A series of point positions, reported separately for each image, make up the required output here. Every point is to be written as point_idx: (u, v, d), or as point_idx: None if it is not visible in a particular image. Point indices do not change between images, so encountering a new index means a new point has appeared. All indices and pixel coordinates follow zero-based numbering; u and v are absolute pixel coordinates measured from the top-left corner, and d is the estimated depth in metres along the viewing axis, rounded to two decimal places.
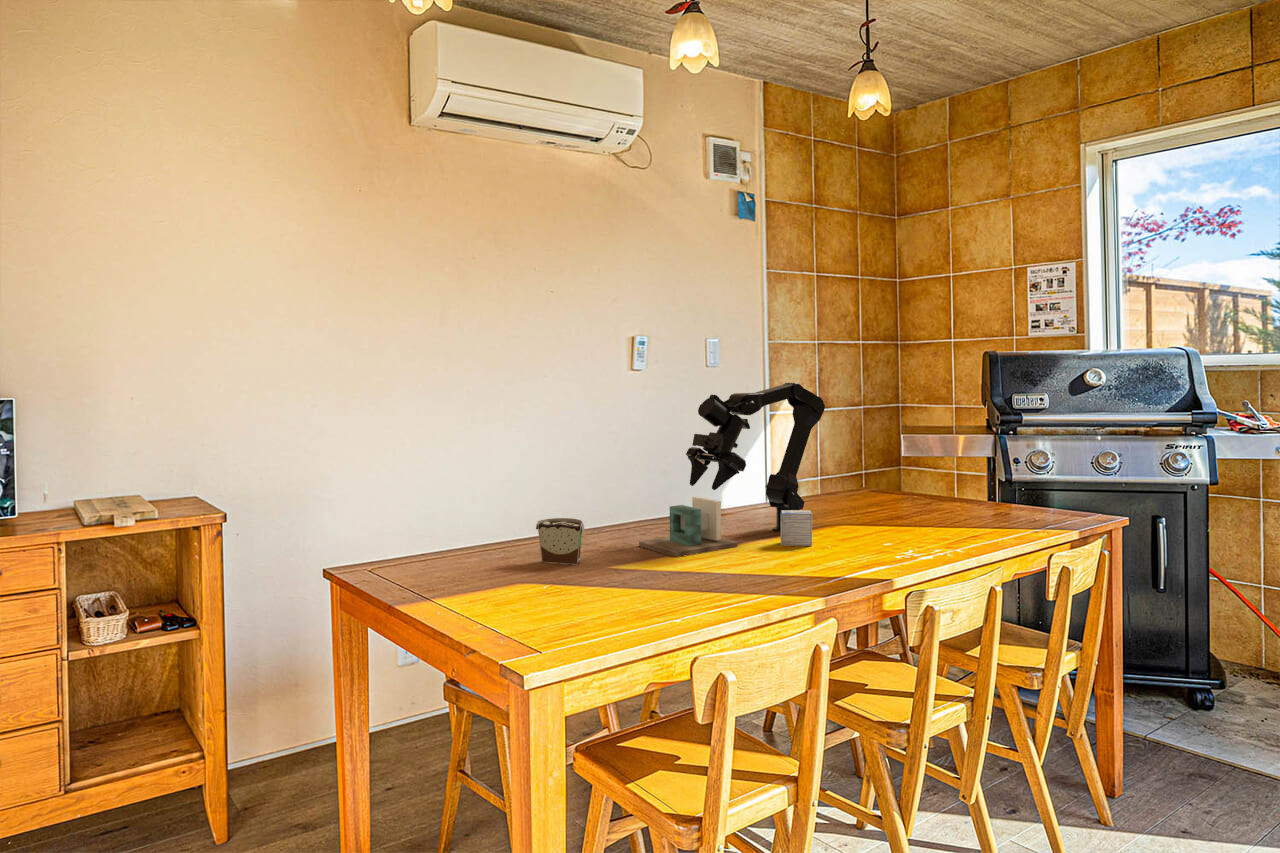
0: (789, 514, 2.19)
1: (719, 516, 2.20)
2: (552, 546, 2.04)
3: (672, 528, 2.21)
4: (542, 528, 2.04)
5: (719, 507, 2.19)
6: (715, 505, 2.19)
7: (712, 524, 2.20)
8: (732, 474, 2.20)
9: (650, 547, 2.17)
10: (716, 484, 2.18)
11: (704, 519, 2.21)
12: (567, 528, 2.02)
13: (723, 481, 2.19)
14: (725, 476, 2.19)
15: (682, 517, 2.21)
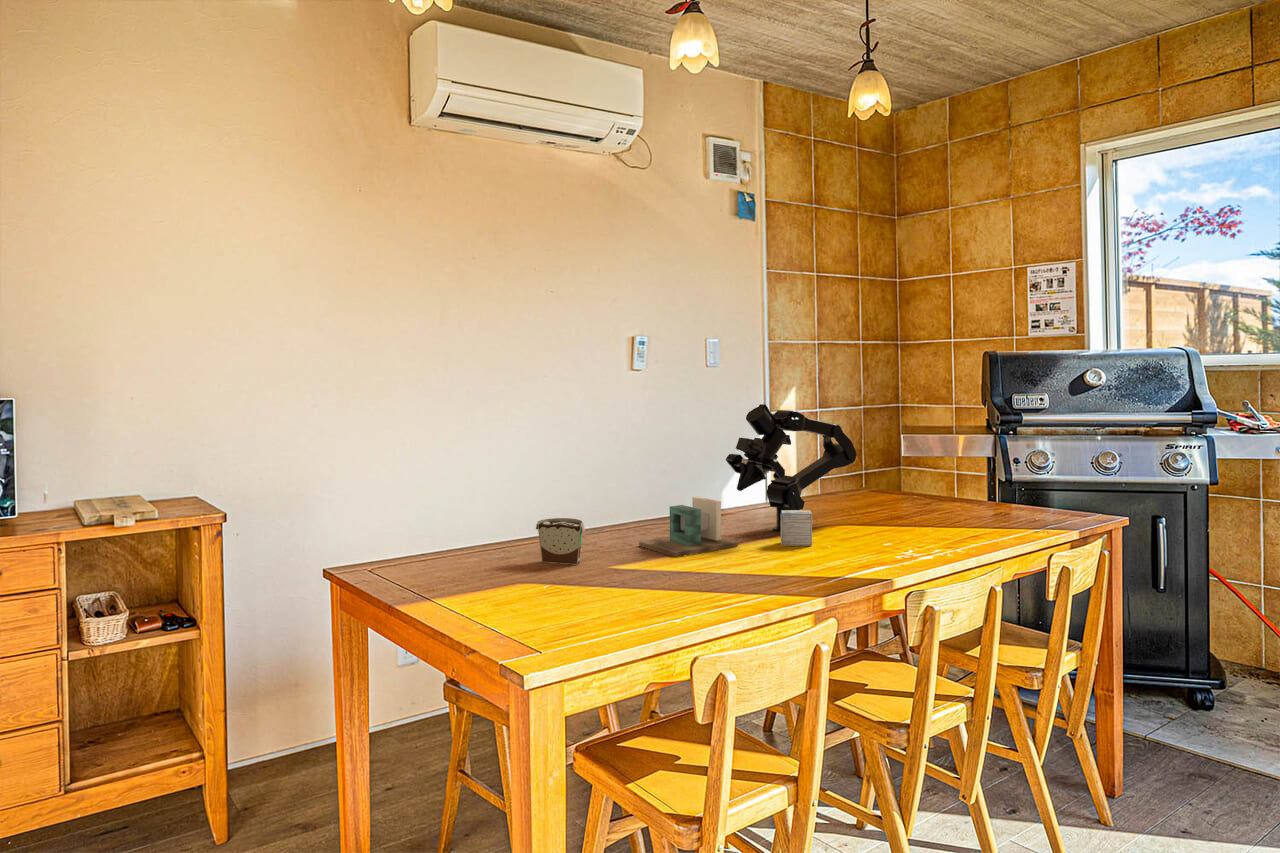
0: (789, 514, 2.19)
1: (719, 516, 2.20)
2: (552, 546, 2.04)
3: (672, 528, 2.21)
4: (542, 528, 2.04)
5: (719, 507, 2.19)
6: (715, 505, 2.19)
7: (712, 524, 2.20)
8: (759, 479, 2.30)
9: (650, 547, 2.17)
10: (742, 485, 2.29)
11: (704, 519, 2.21)
12: (567, 528, 2.02)
13: (749, 484, 2.30)
14: (752, 480, 2.30)
15: (682, 517, 2.21)
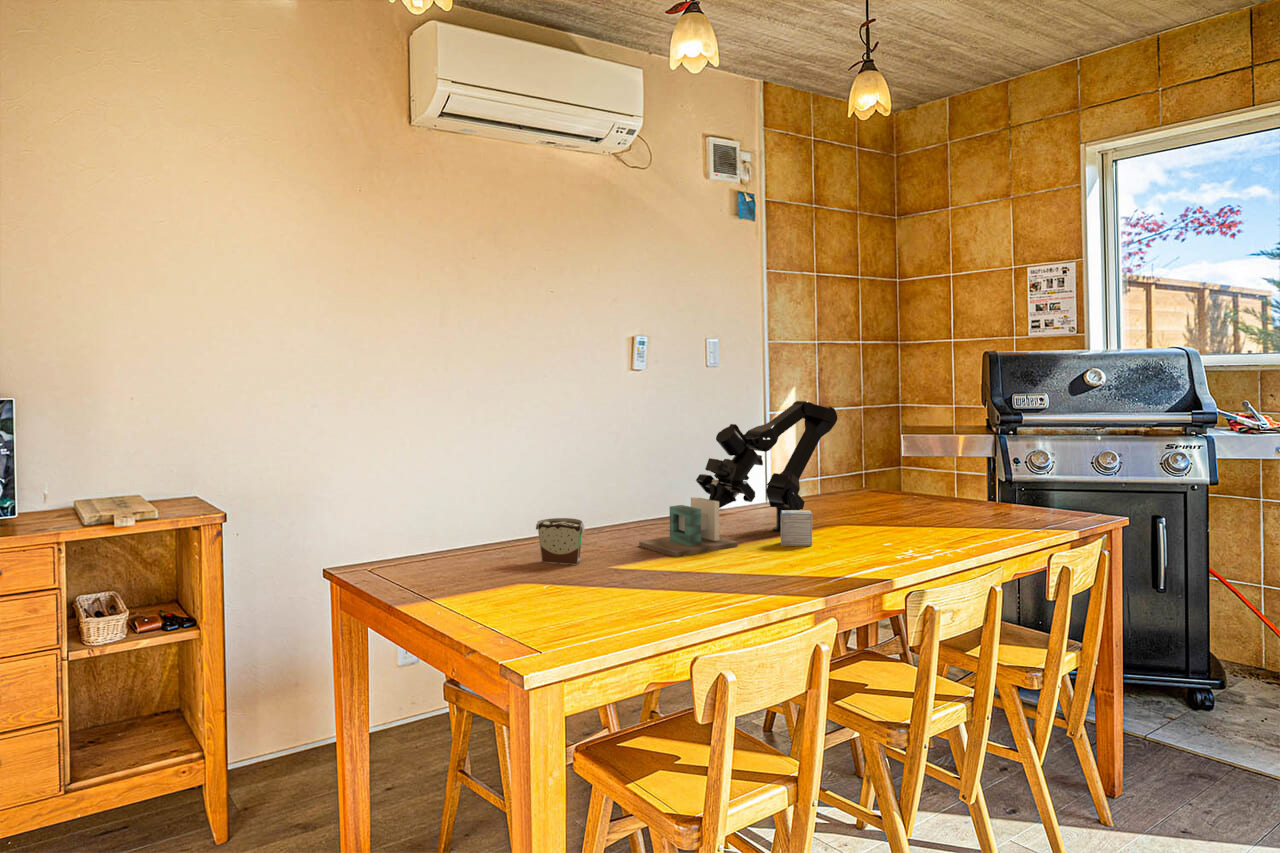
0: (789, 514, 2.19)
1: (717, 516, 2.19)
2: (552, 546, 2.04)
3: (672, 528, 2.21)
4: (542, 528, 2.04)
5: (717, 507, 2.19)
6: (713, 505, 2.19)
7: (711, 524, 2.20)
8: (729, 501, 2.25)
9: (650, 547, 2.17)
10: None
11: (702, 519, 2.20)
12: (567, 528, 2.02)
13: (719, 506, 2.24)
14: (722, 501, 2.24)
15: (680, 517, 2.20)
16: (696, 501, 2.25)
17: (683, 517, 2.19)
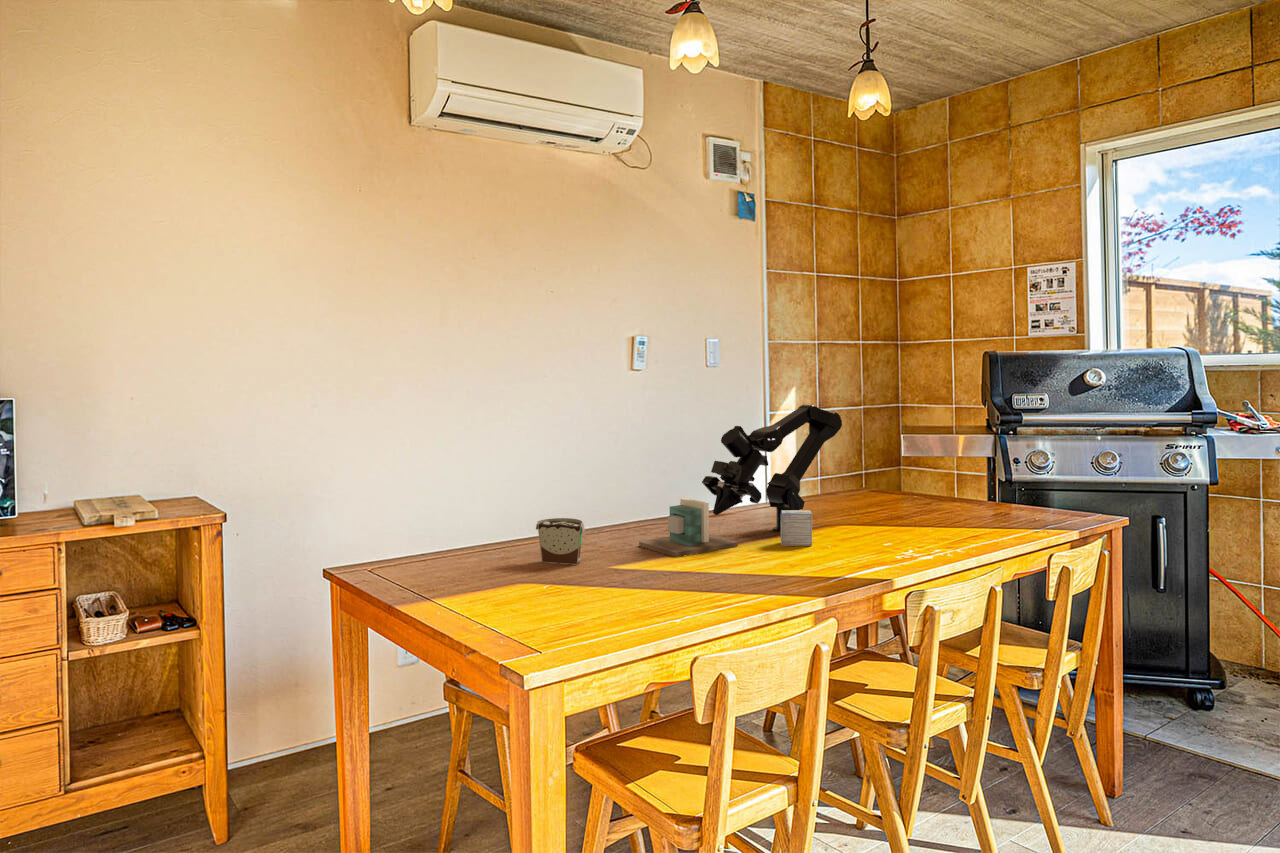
0: (789, 514, 2.19)
1: (707, 518, 2.17)
2: (552, 546, 2.04)
3: None
4: (542, 528, 2.04)
5: (707, 508, 2.17)
6: (703, 507, 2.17)
7: None
8: (735, 502, 2.26)
9: (650, 547, 2.17)
10: (719, 509, 2.25)
11: None
12: (567, 528, 2.02)
13: (726, 508, 2.26)
14: (728, 503, 2.26)
15: (669, 519, 2.18)
16: (686, 502, 2.23)
17: (672, 519, 2.17)
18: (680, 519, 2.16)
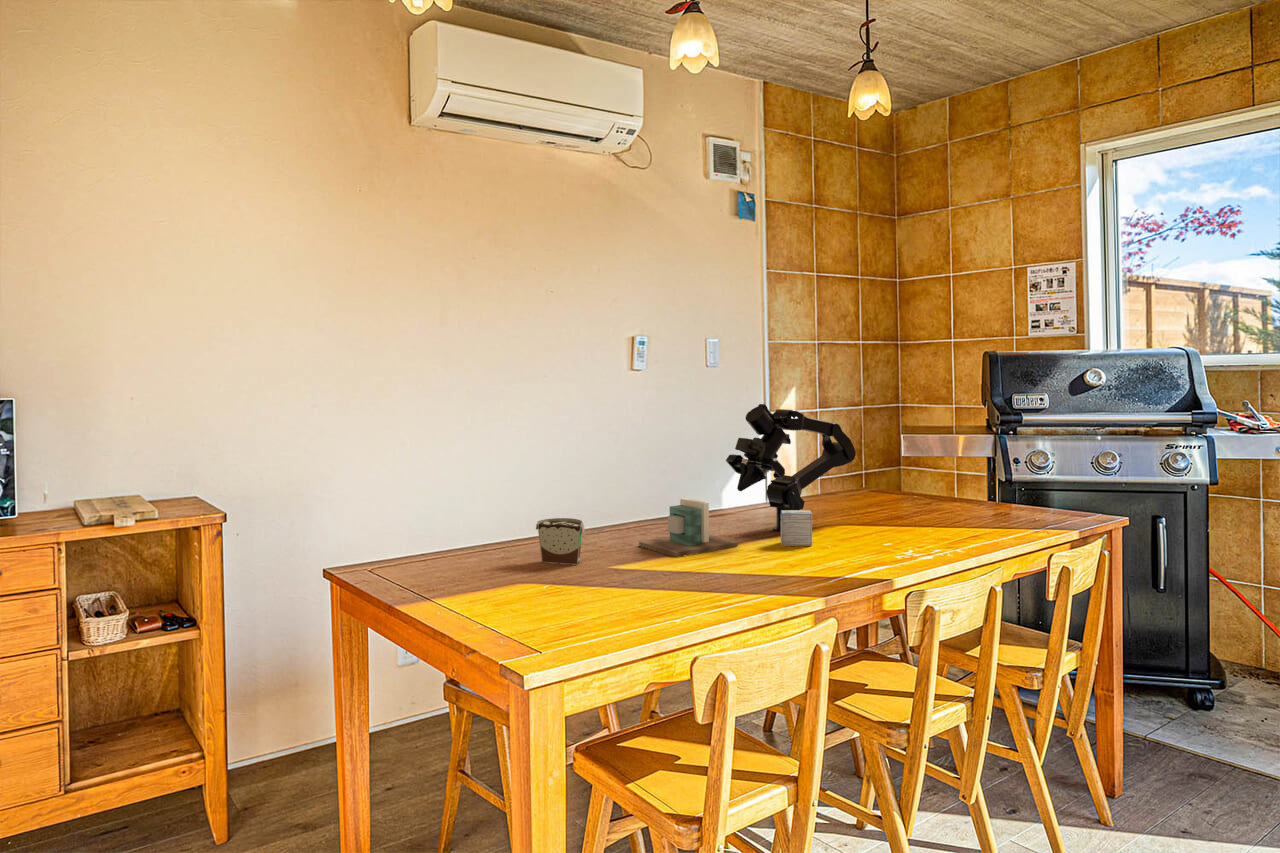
0: (789, 514, 2.19)
1: (707, 518, 2.17)
2: (552, 546, 2.04)
3: None
4: (542, 528, 2.04)
5: (707, 508, 2.17)
6: (703, 507, 2.17)
7: None
8: (759, 479, 2.30)
9: (650, 547, 2.17)
10: (743, 485, 2.29)
11: None
12: (567, 528, 2.02)
13: (750, 484, 2.30)
14: (752, 480, 2.30)
15: (669, 519, 2.18)
16: (686, 502, 2.23)
17: (672, 519, 2.17)
18: (680, 519, 2.16)
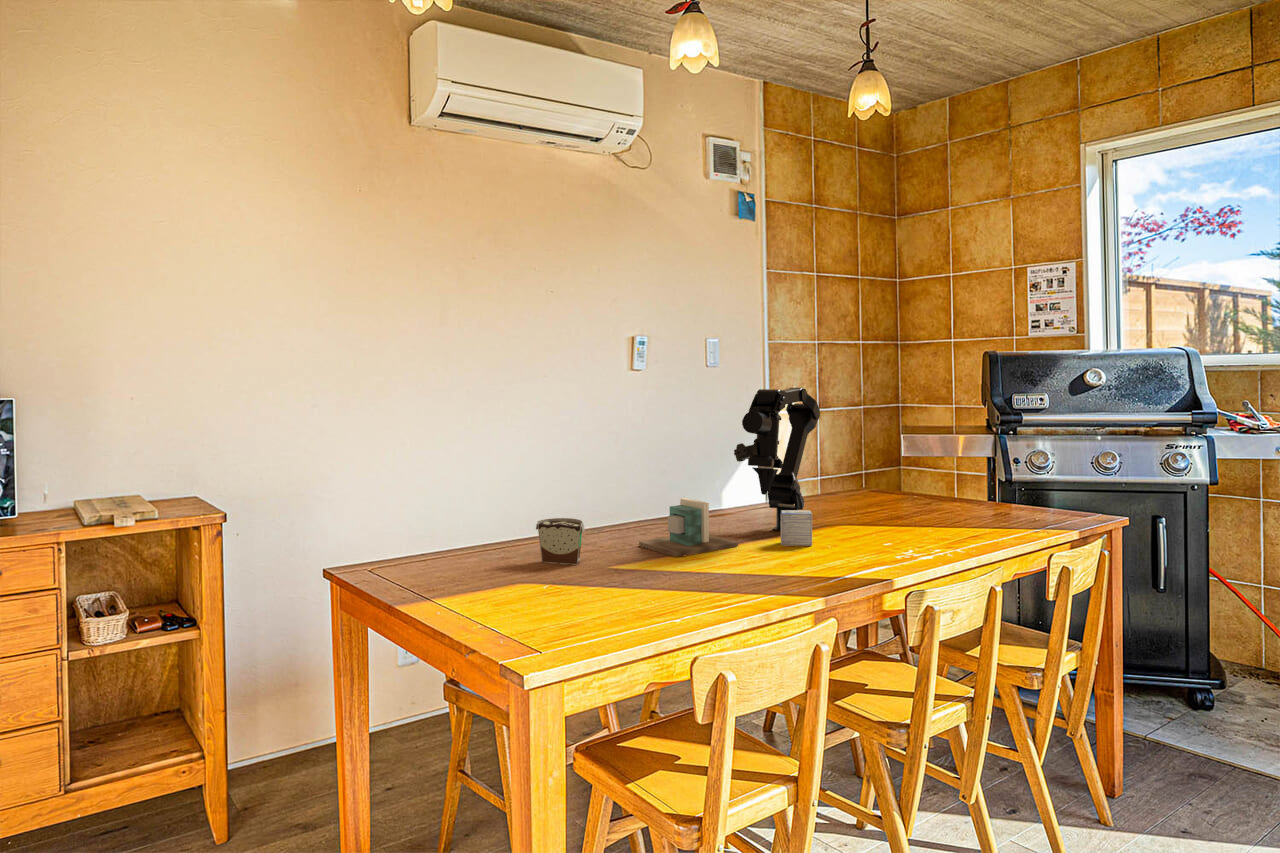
0: (789, 514, 2.19)
1: (707, 518, 2.17)
2: (552, 546, 2.04)
3: None
4: (542, 528, 2.04)
5: (707, 508, 2.17)
6: (703, 507, 2.17)
7: None
8: (771, 473, 2.24)
9: (650, 547, 2.17)
10: (762, 488, 2.26)
11: None
12: (567, 528, 2.02)
13: (767, 483, 2.25)
14: (766, 478, 2.25)
15: (669, 519, 2.18)
16: (686, 502, 2.23)
17: (672, 519, 2.17)
18: (680, 519, 2.16)
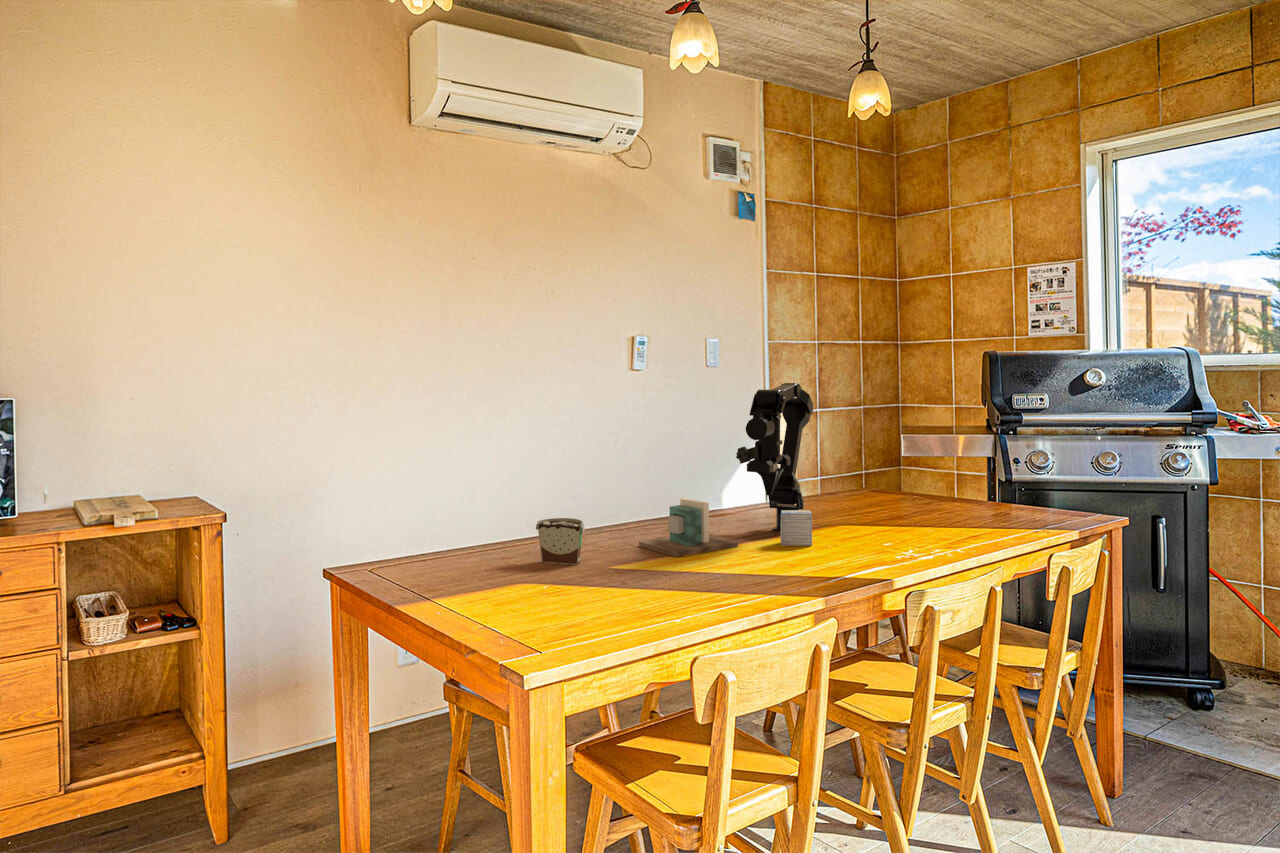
0: (789, 514, 2.19)
1: (707, 518, 2.17)
2: (552, 546, 2.04)
3: None
4: (542, 528, 2.04)
5: (707, 508, 2.17)
6: (703, 507, 2.17)
7: None
8: (774, 475, 2.23)
9: (650, 547, 2.17)
10: (767, 490, 2.26)
11: None
12: (567, 528, 2.02)
13: (771, 485, 2.24)
14: (770, 480, 2.24)
15: (669, 519, 2.18)
16: (686, 502, 2.23)
17: (672, 519, 2.17)
18: (680, 519, 2.16)
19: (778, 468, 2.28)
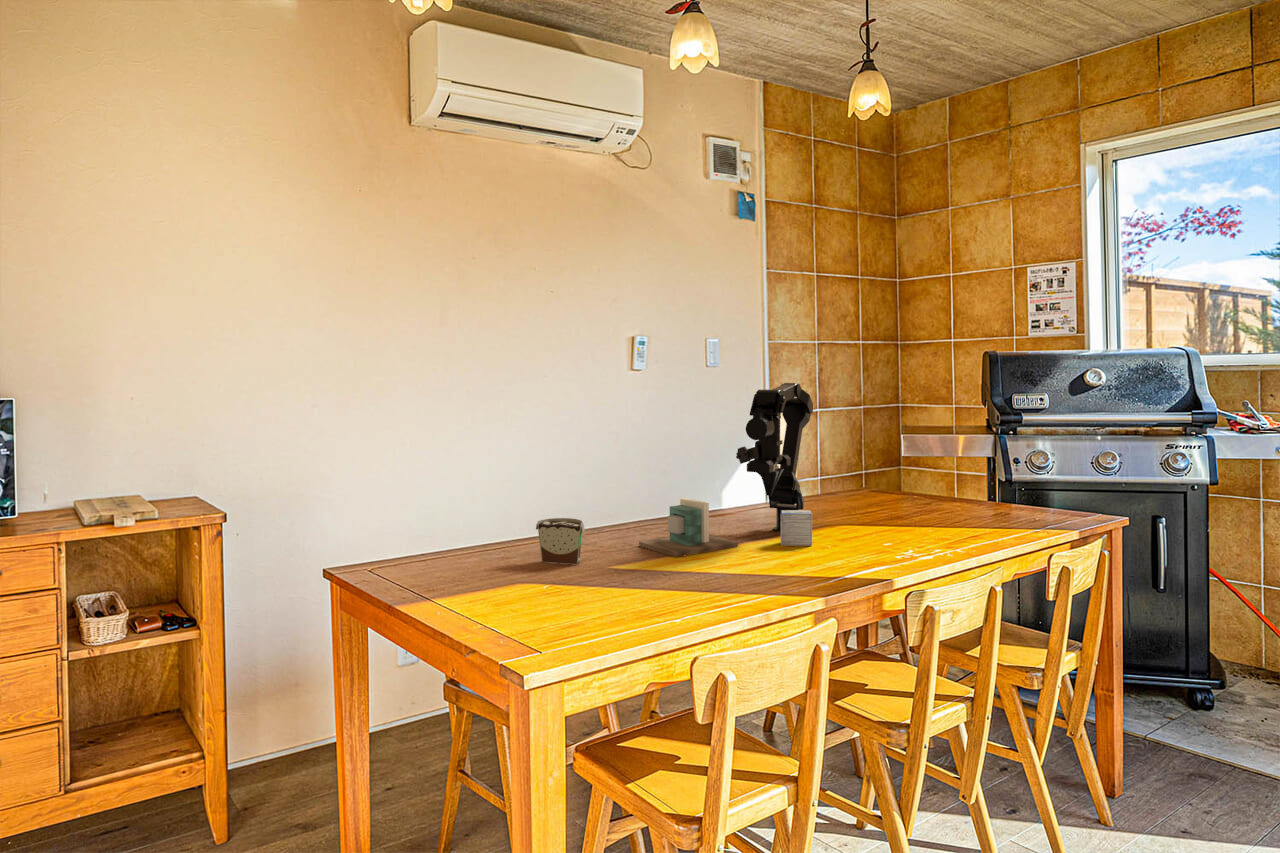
0: (789, 514, 2.19)
1: (707, 518, 2.17)
2: (552, 546, 2.04)
3: None
4: (542, 528, 2.04)
5: (707, 508, 2.17)
6: (703, 507, 2.17)
7: None
8: (774, 475, 2.23)
9: (650, 547, 2.17)
10: (767, 490, 2.26)
11: None
12: (567, 528, 2.02)
13: (771, 485, 2.24)
14: (770, 480, 2.24)
15: (669, 519, 2.18)
16: (686, 502, 2.23)
17: (672, 519, 2.17)
18: (680, 519, 2.16)
19: (778, 468, 2.28)
